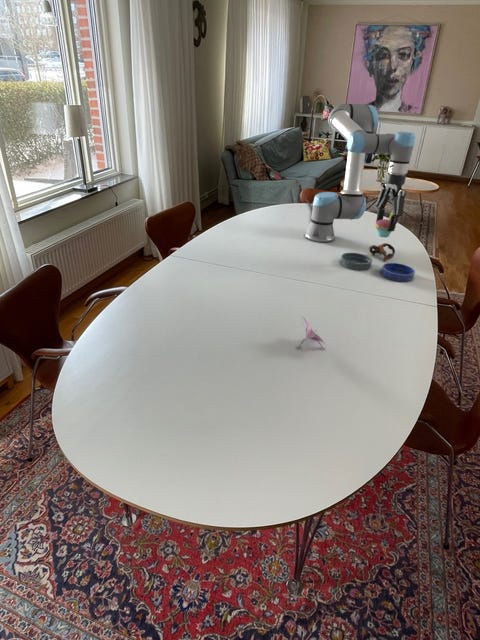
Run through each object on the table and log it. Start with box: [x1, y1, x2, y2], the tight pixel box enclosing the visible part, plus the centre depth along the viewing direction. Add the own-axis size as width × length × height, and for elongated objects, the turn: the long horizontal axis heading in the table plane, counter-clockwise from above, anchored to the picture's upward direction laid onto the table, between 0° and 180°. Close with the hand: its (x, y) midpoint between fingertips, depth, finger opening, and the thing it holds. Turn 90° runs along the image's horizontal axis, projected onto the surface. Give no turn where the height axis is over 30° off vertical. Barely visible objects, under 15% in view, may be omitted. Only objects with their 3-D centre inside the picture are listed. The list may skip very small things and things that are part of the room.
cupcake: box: [374, 210, 397, 238], centre depth 185 cm, size 9×8×12 cm
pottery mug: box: [368, 242, 396, 262], centre depth 208 cm, size 12×10×8 cm
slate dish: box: [340, 252, 373, 271], centre depth 200 cm, size 14×14×3 cm
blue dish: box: [380, 262, 416, 282], centre depth 191 cm, size 14×14×3 cm
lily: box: [297, 314, 327, 349], centre depth 136 cm, size 12×12×10 cm
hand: (384, 227), depth 186 cm, fingers closed on cupcake, 8 cm apart
